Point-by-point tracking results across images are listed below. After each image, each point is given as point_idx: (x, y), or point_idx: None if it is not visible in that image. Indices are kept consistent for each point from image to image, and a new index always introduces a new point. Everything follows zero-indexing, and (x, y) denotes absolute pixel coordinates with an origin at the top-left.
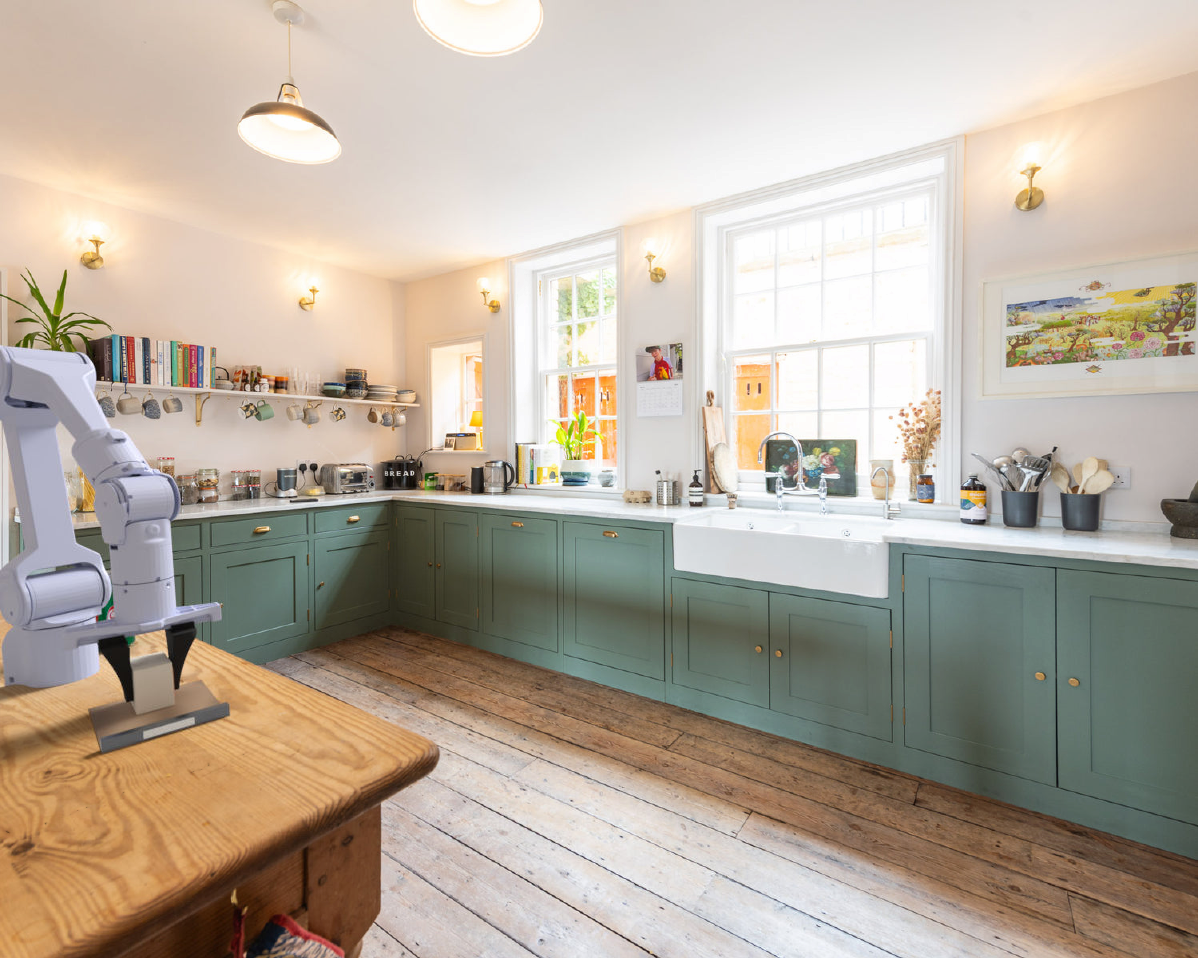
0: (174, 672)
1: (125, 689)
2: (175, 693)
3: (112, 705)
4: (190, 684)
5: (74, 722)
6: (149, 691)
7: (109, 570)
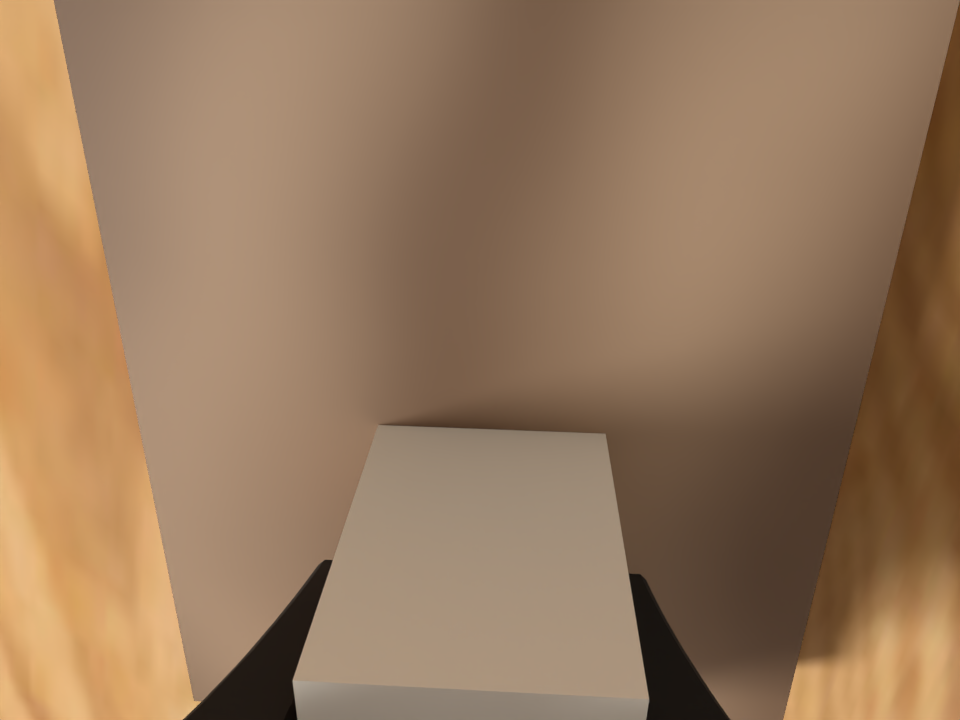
0: None
1: (670, 636)
2: None
3: None
4: None
5: (812, 705)
6: (520, 524)
7: None
